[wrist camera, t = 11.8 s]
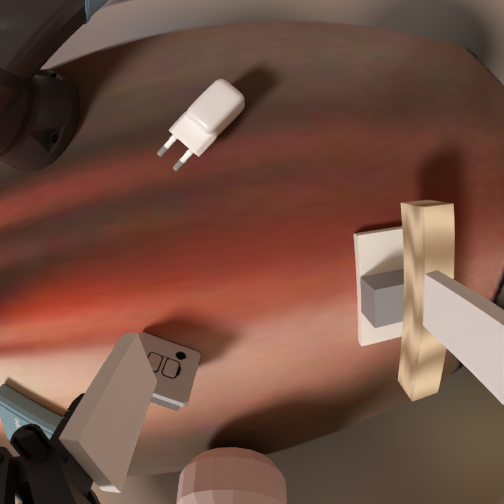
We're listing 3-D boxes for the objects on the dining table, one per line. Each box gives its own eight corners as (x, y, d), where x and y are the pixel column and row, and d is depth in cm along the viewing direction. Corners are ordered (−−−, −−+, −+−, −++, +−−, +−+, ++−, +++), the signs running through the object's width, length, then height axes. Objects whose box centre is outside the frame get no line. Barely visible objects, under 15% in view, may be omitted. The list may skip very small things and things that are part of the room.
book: (16, 427, 48) (7, 438, 43) (5, 381, 45) (-7, 393, 40) (95, 467, 50) (88, 482, 45) (92, 427, 46) (83, 443, 42)
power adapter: (187, 176, 37) (176, 176, 31) (159, 151, 36) (144, 147, 30) (249, 110, 35) (250, 98, 29) (221, 86, 34) (217, 70, 28)
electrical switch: (202, 351, 42) (191, 396, 33) (193, 376, 43) (182, 420, 35) (140, 329, 41) (117, 368, 32) (135, 354, 43) (114, 395, 34)
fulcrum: (353, 233, 38) (372, 243, 32) (429, 222, 38) (455, 229, 32) (358, 341, 42) (373, 364, 36) (426, 323, 42) (447, 342, 35)
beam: (400, 203, 31) (423, 207, 26) (428, 199, 31) (453, 203, 26) (397, 380, 36) (412, 401, 32) (421, 372, 36) (437, 392, 32)
